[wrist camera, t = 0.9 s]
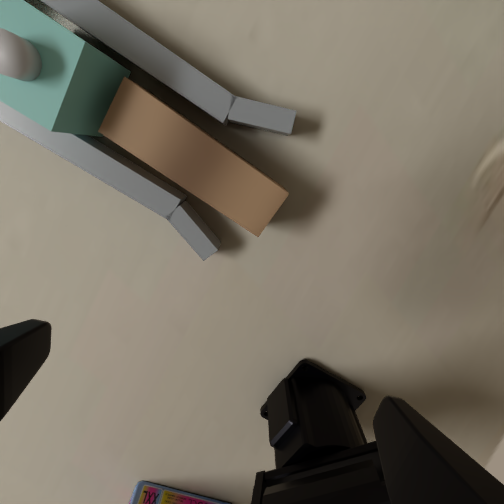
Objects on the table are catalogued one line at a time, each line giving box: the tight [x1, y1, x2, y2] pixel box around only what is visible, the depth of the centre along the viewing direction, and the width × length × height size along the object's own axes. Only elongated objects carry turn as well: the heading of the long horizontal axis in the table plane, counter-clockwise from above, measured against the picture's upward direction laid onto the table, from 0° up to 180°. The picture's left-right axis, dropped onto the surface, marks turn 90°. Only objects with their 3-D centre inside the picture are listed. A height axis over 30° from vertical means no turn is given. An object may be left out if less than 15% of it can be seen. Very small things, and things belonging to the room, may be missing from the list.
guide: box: [0, 0, 296, 261], centre depth 16 cm, size 20×10×4 cm, turn 58°
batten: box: [98, 77, 289, 237], centre depth 17 cm, size 10×3×4 cm, turn 56°
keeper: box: [0, 0, 131, 137], centre depth 14 cm, size 4×4×6 cm
